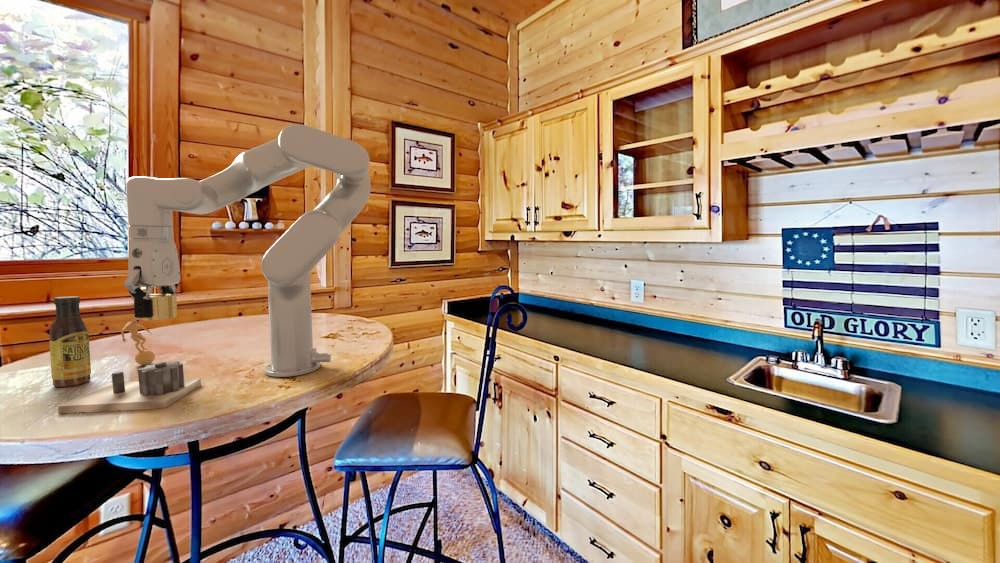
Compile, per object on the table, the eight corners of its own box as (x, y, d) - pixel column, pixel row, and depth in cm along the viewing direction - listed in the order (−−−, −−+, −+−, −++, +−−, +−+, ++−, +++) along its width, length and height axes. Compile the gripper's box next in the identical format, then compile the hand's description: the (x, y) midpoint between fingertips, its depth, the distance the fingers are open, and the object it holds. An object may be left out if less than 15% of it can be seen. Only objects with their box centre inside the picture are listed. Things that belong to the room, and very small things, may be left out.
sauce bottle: (67, 389, 91) (57, 299, 89) (44, 387, 92) (34, 298, 90) (100, 379, 98) (92, 295, 96) (79, 377, 99) (70, 294, 97)
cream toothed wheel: (184, 314, 98) (183, 293, 97) (163, 320, 91) (162, 297, 90) (150, 314, 97) (149, 293, 96) (127, 320, 90) (125, 297, 89)
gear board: (201, 384, 94) (198, 354, 94) (165, 407, 82) (162, 372, 81) (110, 389, 91) (107, 357, 91) (58, 414, 79) (54, 377, 78)
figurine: (139, 370, 105) (135, 323, 103) (115, 369, 105) (111, 322, 103) (165, 360, 113) (162, 316, 112) (143, 360, 113) (139, 316, 112)
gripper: (142, 234, 84) (147, 321, 86) (193, 235, 101) (197, 307, 103) (100, 233, 83) (107, 321, 85) (159, 234, 100) (164, 307, 102)
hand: (156, 313), depth 94 cm, fingers closed on cream toothed wheel, 7 cm apart
